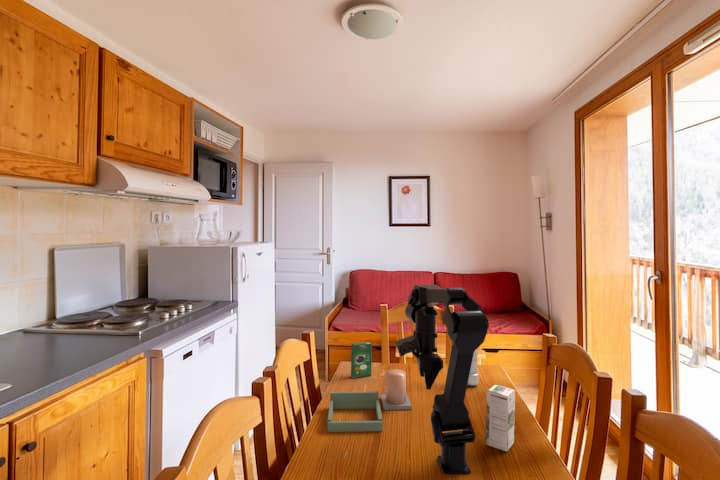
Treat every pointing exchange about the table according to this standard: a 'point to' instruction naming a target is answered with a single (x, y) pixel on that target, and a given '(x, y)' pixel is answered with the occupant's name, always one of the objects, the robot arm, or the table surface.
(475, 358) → the plastic bottle
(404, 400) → the pink tall rounded piece
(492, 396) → the syrup box
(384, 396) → the slate tile
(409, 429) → the table surface
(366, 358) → the coffee box
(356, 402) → the frame
